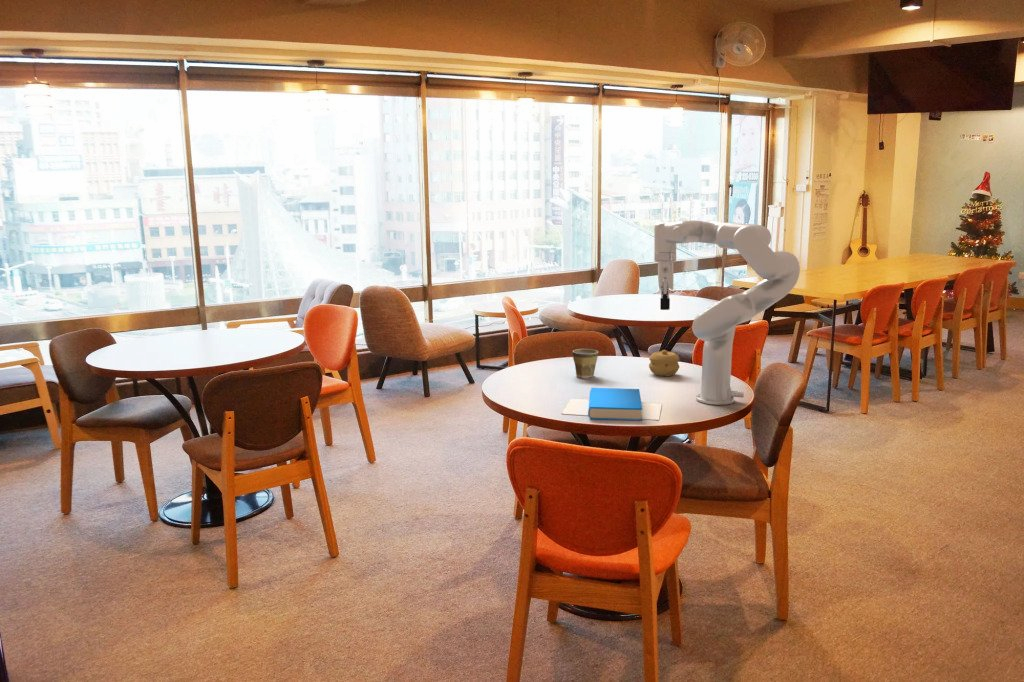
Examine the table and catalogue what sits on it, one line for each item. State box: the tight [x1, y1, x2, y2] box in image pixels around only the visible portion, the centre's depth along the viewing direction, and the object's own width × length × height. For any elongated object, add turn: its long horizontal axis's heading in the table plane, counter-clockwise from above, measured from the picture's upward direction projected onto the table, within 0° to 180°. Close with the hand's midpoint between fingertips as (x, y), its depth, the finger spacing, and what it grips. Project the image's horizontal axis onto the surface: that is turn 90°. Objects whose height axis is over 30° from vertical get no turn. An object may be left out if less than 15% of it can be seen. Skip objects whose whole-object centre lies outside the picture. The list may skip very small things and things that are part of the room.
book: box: [588, 387, 643, 421], centre depth 263 cm, size 17×4×25 cm
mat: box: [561, 398, 663, 421], centre depth 263 cm, size 31×19×1 cm, turn 77°
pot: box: [648, 349, 680, 377], centre depth 311 cm, size 12×12×10 cm
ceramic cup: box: [572, 348, 599, 379], centre depth 310 cm, size 13×10×10 cm
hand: (665, 309), depth 282 cm, fingers closed
